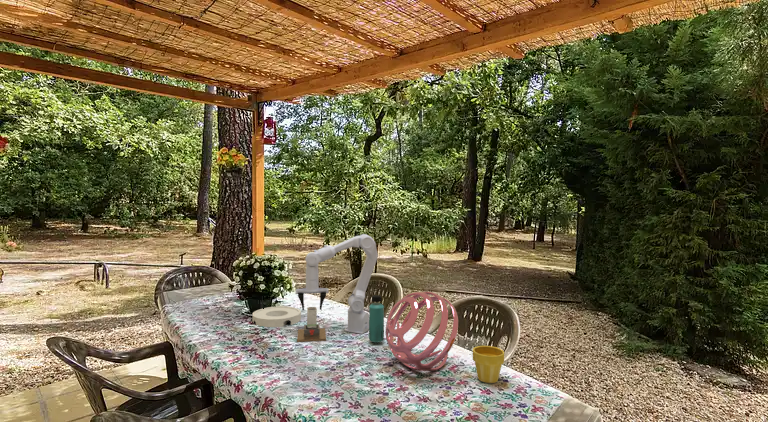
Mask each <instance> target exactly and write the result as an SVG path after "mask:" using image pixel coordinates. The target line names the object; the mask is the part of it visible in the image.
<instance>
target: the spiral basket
mask: <svg viewBox="0 0 768 422" xmlns="http://www.w3.org/2000/svg"><path fill="white" fill-rule="evenodd" d="M420 297H421V298H423V300H420V301H419V302H418V301H417V299H419V298H420ZM437 301H438V302H439V304H440V308H441V319H440V323H439V327H438V330H437V332H436V333H435V336H434V337H433V339H432V341H430V343H429V344H428V345H427V346H426V348H425V349H424V350H423V351H421V352H420V353H419V354H416V353H415V354H413V353H412V350H413V349H414V348H416V347H417V346H418V345H419V344H420V343H422V341H423V340H424V338H425V337H426V336H427V334H428V333H429V331H430V329H431V326H432V323H433V321H434V316H435V305H434V302H437ZM402 303H403V304H402ZM401 304H402V305H401ZM447 304H448V306H449V307H450V309H451V311H452V317H453V323H452V328H451V333H450V337H449V338H448V340H447V343H446V344H445V347H444V348H443V349H439V350H436V349H437V347H438V346H439V344H440V343H441V342H442V340H443V338H444V336H445V333H446V330H447V327H448V322H449V321H448V320H449V311H448V306H447ZM409 306H410V308H411V309H410V310H409V312H408V313H407V314H406V316H405V318H404V320H403V321H402V323H401V325H400V322H399V319H400V318H401V315H402V314H403V313H404V311H405V310H406V309H407V308H408V307H409ZM424 306H426V314H425V318H424V320H423V324H422V325H421V327H420V328H419V331H418V332H417V333H416V334H415V335H414V337H413V338H412V339H411V340H408V341H407V342H406V341H405V339H404V336H405V334H407V333H408V332H409V331H410V330H411V328H413V326H414V324H415V322H416V320H417V319H418V316H419V310H420V309H422V308H423V307H424ZM399 307H400V308H399ZM398 308H399V309H398ZM397 309H398V310H397ZM396 311H397V312H396ZM395 312H396V314H395ZM394 314H395V315H394ZM393 315H394V318H393ZM458 329H459V317H458V313H457V310H456V308H455V306H454V305H453V304H452V303H451V301H450V300H448V299H447V298H445V297H443V296H441V295H439V294H438V293H436V292H432V291H415V292H411V293H408V294H406V295H405V296H403V297H402V298H401V299H399V300H398V301H397V302H396V303H395V304H394V305H393V306H392V308H391V309H390V311H389V313H388V316H387V320H386V326H385V340H386V342H387V345H388V348H389V350H390V351H391V354H392V355H393V356H394V358H395V359H396V360H397V361H398V362H400V363H402V364H403V365H404V366H405V367H407V368H409V369H411V370H413V371H419V372H420V371H421V372H422V371H423V372H433V371H434V372H435V371H438V370H440V369H442V367H444V366H445V364H446V362H447V360H448V356H449V352H450V350H451V349H452V347H453V346H454V343H455V341H456V337H457V335H458ZM394 338H397V340H396V344H394ZM435 350H436V351H435ZM437 354H438V355H437ZM436 355H437V356H436ZM433 356H436V357H435V358H434V359H433V360H432V361H430V362H429V363H425V364H424V363H422V361H424V360H425V359H427V358H431V357H433ZM439 363H440V364H439ZM438 364H439V365H438ZM412 365H413V366H412ZM436 365H437V366H436ZM435 366H436V367H435Z"/></svg>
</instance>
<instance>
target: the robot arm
mask: <svg viewBox="0 0 768 422" xmlns="http://www.w3.org/2000/svg"><path fill="white" fill-rule="evenodd" d="M349 248H361V249H362V250H363V252H364V254H365V255H366V257H365V260H364V263H363V266H362V268H361V272H360V274H359V276H358V280H357V282H356V285H355V288H354V289H353V290H352V293H351V294H350V296H349V297H348V298H347V304H348V306H349V307H348V309H347V327H346V328H345V329H344V330H343V331H344V332H349V333H356V334H360V335H363V334H364V333H366V332H369V313H368V312H366V311H365V310H364V308H365V303H364V302H365V298H366V291H367V289H368V285H369V283H370V280H371V277H372V274H373V272H374V269H375V266H376V263H377V261H378V257H379V253H378V250H377V243H376V241H375V240H374V238H373V237H372V236H370V235H368V234H366V233H362V234H360V235H355V236H353V237H350V238H349V239H345V240H343V241H342V242H340V243H338V244H335V245H333V246H332V245H330V244H329V245H327V244H324V245H323V247H321V248H319V249H314V250H313V251H311V252H308V253H307V254H306V255H305V262H306V265H305V267H306V268H305V287H303V288H296V289H295V295H297V297H298V300H299V302H300V304H301V308H302V311H305V304H304V303H305V302H304V301H305V298H304V297H305V295H304V294H319V298H320V299H319V300H320V301H319V310H320V311H321V310H322V308H323V303H324V301H325V298H326V296H327V294H329V288H327V287H319V281H320V280H319V278H320V277H319V275H320V274H319V273H320V272H319V271H320V270H319V264H320V263H323V262H325V261H328V260H329V259H332V258H335V256H336V255H337V253H340V252H342V251H344V250H348V249H349Z"/></svg>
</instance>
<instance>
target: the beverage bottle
mask: <svg viewBox="0 0 768 422" xmlns="http://www.w3.org/2000/svg"><path fill="white" fill-rule="evenodd" d="M371 302H372V303H371V304H369V306H368V310H369V311H368V312H369V313H368V314H369V330H368V339H369V341H370V342H372V343H380V342H383V341H384V339H385V306H384V305H383V304H382V303H380V302H382V295H377V294H376V295H375V294H374V295H372V296H371Z"/></svg>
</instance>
